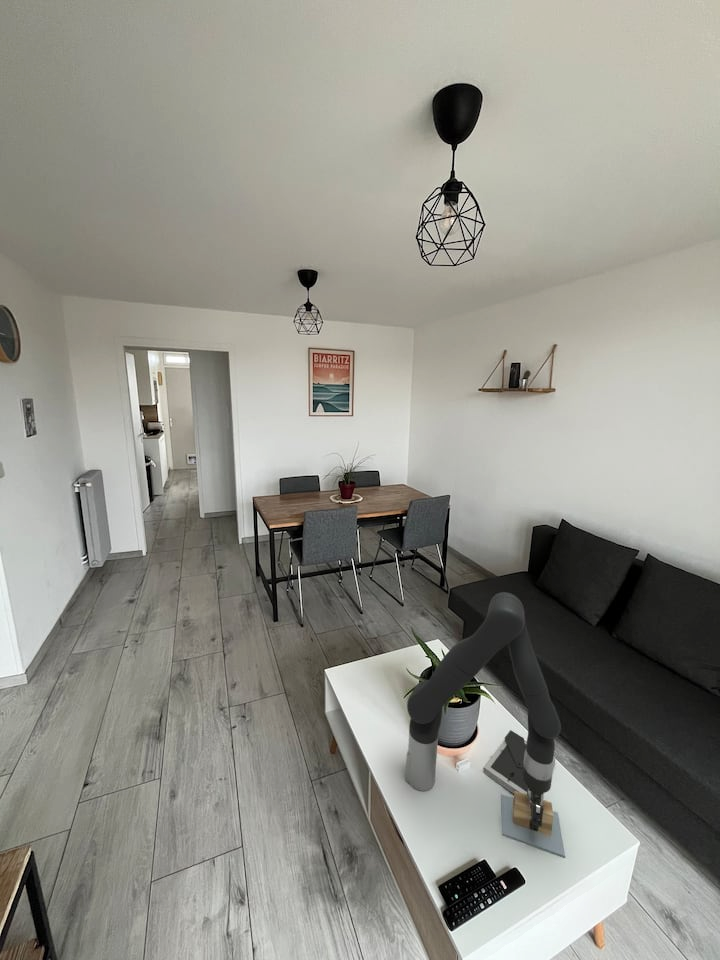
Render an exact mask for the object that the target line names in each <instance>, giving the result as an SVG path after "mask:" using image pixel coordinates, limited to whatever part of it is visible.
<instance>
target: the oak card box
mask: <svg viewBox="0 0 720 960" xmlns="http://www.w3.org/2000/svg"><path fill="white" fill-rule="evenodd" d="M513 798H514V800H513V808H512V814H513V824H516V825H519V826H522V827H525V828H527V829H530V827H529V824H530V808H529V795H527V794H523V793H520V792H517V791H514V794H513ZM531 804H533V802H532V801H531ZM543 808H544V810H543V816H542V825H541V827H540V826H539V828H538V831H536V832H539V833H542V834H545V835H548V836H550V837H551V832H552V825H553V817H554V815H553V811H554V810H553V803H552V801H548V800H545V799H543ZM530 830H531V829H530ZM533 831H534V830H533Z"/></svg>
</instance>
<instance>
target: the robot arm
mask: <svg viewBox="0 0 720 960" xmlns="http://www.w3.org/2000/svg"><path fill="white" fill-rule="evenodd" d="M505 646H508V650H509V655H510V660H511V664H512V669H513V672H514V675H515V676H514V677H515V680H516V681H517V684H518V687H519V690H520V692H521V694H522V696H523V698H524V702H525V705H526V708H527V737H526V741H527V744H526V750H525V754H524V762H523V770H522V777H523V780H524V782H525V783H526V784H527V788H528V790H527V795H529V808H530V824H529V827H530V829H531V830H534V831H538V828H539V826H540V827H541V825H542V816H543V810H544V808H543V800H545V799H544V794H545V793H548V792H549V791H550V790H551V787H552V781H553V772H554V766H553V758H555V756H554V755H555V750H556V749H555V748H556V744H555V738H557V737H558V736H559V735H560V733H561V731H562V724H561V720H560V717H559V716H558V712H557V709H556V707H555V705H554V703H553V702H552V700H551V697H550V694H549V693H550V692H549V689H548V685H547V683H546V680H545V678H544V675H543V672H542V669H541V666H540V664H539V662H538V659H537V657H536V654H535V652H534V651H535V650H534V648H533V645H532V642H531V639H530V635H529V632H528V629H527V622H526V619H525V608H524V605H523V603H522V601H521V600H520V599H519V598H518V597H517V596H516V595H514V594H513V593H511V592H510V593H509V592H505V591H503V592H499V593H496V594H495V595H494V596H492V598H491V599H490V602H489V604H488V610H487V613H486V617H485V619H484V620H483V622H482V623H481V624H480V626H479V627H478V629H477V630H476V631H475V632H474V633H473V634H472V635H470V636H469V637H466V638H463V639H461V640H459V641H458V642H457V643H455V644H454V645H453V646H452V647H451V648H450V649H449V651H448V652H447V653H446V654H445V655H444V656H443V658H442V659H441V660H440V661H439V664H438V665H437V667H436V668H435V669H434V671H433V673H432V674H431V676H430V678H429V679H428V680H427V679H426V680H421V681H419V682H418V683H417V684H416V685H415V688H414V689H413V691H412V692H411V693H410V695H409V697H408V699H407V705H406V706H407V707H406V708H407V709H406V710H407V713H408V715H409V717H410V720H409V725H408V744H407V745H408V748H407V752H406V760H405V761H406V763H405V777H404V778H405V780H404V781H405V782H407V783H408V784H409V785H411V787H413V789H415V790H417V791H422V792H426V791H429V790H431V789H433V787H434V785H435V783H436V773H437V772H436V770H437V758H438V755H437V754H438V743H439V741H438V739H439V731H440V727H441V724H442V715H443V707H444V706H445V704H446V703H447V702H448V701H449V700H450V699H451V698H453V696H455V695H456V694H458V693H459V691H460V690H462V689H463V688H464V687H465V686H466V685H467V684H469V683H470V681H472V679H474V677H476V676H477V674H479V673H480V671H481V670H482V669H483V668H484V667H485V666H486V665H487V664H488V663H489V661H491V659H492V658H493V657H494V656H495V655H496V654H497V653H498V652H499V651H500V650H502V649H504V648H505ZM531 801H532V802H533V804H531Z"/></svg>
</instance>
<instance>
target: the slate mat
mask: <svg viewBox="0 0 720 960" xmlns="http://www.w3.org/2000/svg"><path fill="white" fill-rule="evenodd" d="M500 797H501V798H500V799H501V801H500V802H501V803H500V804H501V806H500V807H501V832H502V833H501V836H503V837H505V838H508V839H511V840H514V841H517V842H520V843H522V844H525V845H528V846H531V847H534V848H537V849H540V850H542V851H545V852H548V853H550V854H553V855H556V856H559V857H562V858H566V854H565V853H566V852H565V846H564V842H563V841H564V840H563V835H562V829H561V823H560V816H559V812H557V811H554V810H553V815H554V817H553V825H552V832H551V837H550V836H548V835H545V834H542V833H539V832H536V831H533V830H530V829H527V828H525V827H522V826H519V825H516V824H513V814H512V808H513V800H514V797H511V796H509V795H505V794H501V796H500Z"/></svg>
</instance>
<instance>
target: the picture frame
mask: <svg viewBox="0 0 720 960" xmlns="http://www.w3.org/2000/svg"><path fill="white" fill-rule="evenodd" d="M526 744H527V740H525V737H523V736H522V735H519V734H518V733H517V732H515V731H513V730H511V729H510V730H509V731H508V732H507V733H506V735H505V737H504V739H503V741H502V742H501V744H500V745H499V746H498V748H497V749H495V751H494V753H493V754H492V755H491V756H490V758H489V759H488V760H487V762H486V763H485V764H484V765H483V770H482V771H483V774H485V775H486V776H488V777H489V778H491V779H492V780H494V781H495V782H496V783H497V784H499V785H501V786H502V787H503V788H505V789H506V790H507V791H508V792H510V793H512V794H513V795H514V791H517V792H520V793H523V794H527V790H528V788H527V784H526V783H525V782H524V780H523V777H522V770H523V762H524V754H525V750H526ZM555 764H556V757H554V758H553V767H554V766H555Z"/></svg>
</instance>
